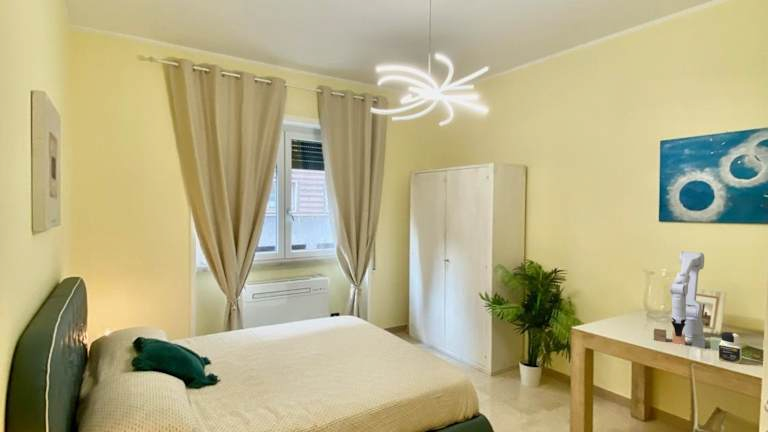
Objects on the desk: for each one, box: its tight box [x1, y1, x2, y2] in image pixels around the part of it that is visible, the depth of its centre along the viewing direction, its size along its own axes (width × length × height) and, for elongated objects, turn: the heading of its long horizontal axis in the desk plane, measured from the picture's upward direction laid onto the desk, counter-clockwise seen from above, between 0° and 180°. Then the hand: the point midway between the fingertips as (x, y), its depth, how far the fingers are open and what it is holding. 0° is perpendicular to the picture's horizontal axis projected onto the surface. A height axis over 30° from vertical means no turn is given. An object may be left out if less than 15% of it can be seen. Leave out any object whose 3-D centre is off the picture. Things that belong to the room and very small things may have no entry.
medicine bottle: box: [718, 331, 743, 365], centre depth 182 cm, size 7×7×12 cm
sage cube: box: [709, 336, 722, 352], centre depth 196 cm, size 5×5×5 cm
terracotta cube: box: [671, 330, 686, 346], centre depth 206 cm, size 5×5×5 cm
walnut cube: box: [653, 328, 667, 343], centre depth 210 cm, size 5×5×5 cm
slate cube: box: [691, 334, 706, 349], centre depth 201 cm, size 5×5×5 cm
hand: (678, 334), depth 205 cm, fingers open, 7 cm apart
